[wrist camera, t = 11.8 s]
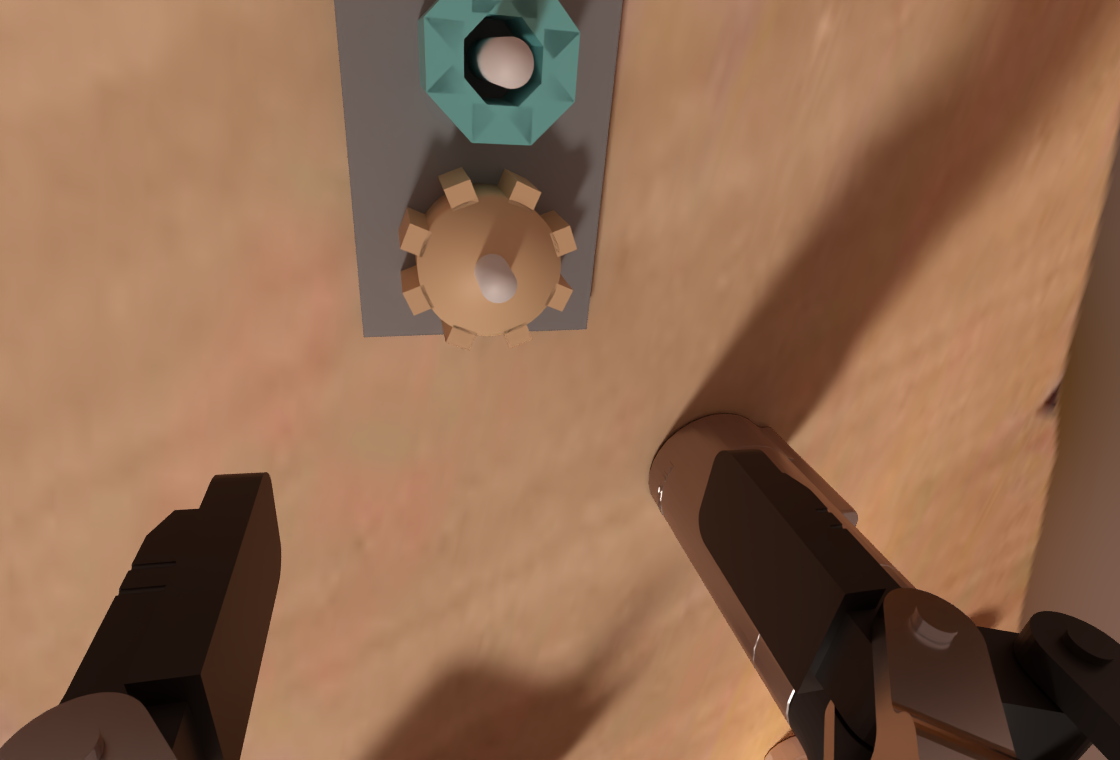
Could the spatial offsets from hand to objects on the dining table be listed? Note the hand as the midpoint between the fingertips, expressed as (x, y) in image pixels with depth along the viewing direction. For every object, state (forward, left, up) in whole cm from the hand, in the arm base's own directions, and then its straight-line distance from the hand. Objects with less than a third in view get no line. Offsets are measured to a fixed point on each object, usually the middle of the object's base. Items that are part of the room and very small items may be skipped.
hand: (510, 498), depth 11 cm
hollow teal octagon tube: (-3, -7, -21) cm, 22 cm away
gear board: (-3, -3, -22) cm, 23 cm away
